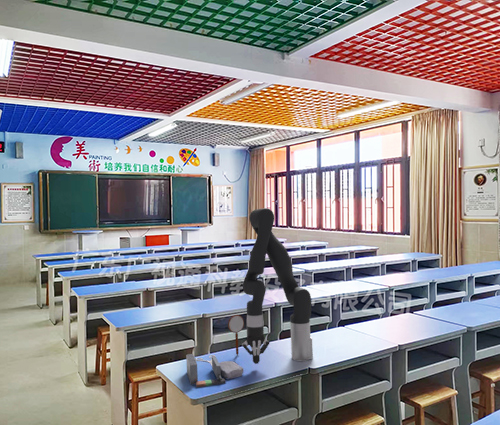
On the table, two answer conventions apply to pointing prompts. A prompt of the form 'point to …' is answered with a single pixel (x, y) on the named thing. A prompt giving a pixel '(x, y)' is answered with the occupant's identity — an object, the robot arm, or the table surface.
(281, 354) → the table surface
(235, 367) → the stone block
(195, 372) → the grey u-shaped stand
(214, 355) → the scissors
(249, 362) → the table surface
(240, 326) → the magnifying glass
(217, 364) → the thin grey slab
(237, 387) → the table surface
